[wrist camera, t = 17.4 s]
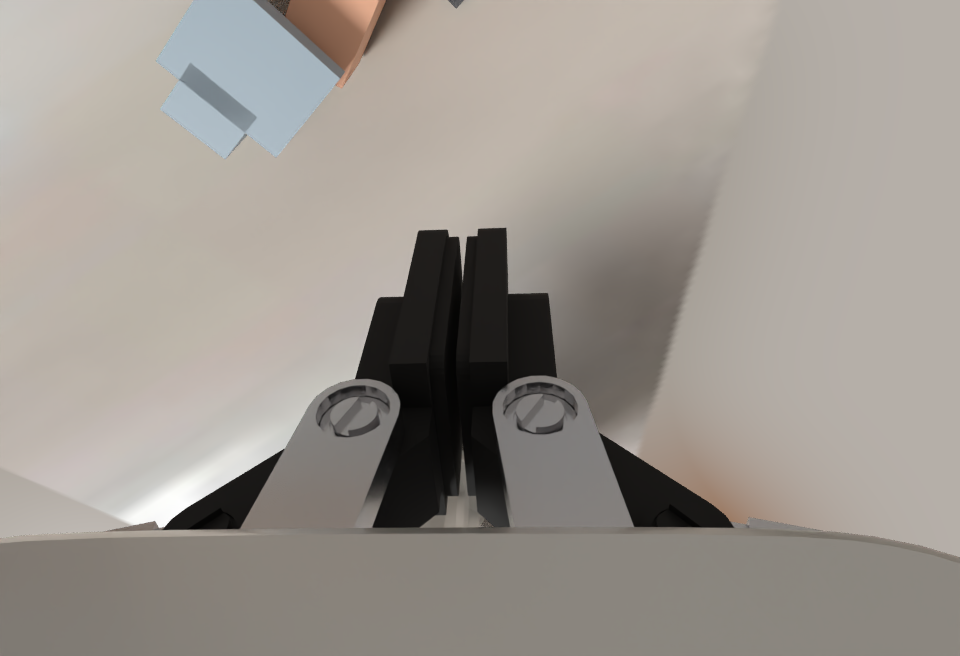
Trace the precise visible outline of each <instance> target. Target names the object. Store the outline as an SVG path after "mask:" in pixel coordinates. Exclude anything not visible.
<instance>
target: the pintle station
mask: <svg viewBox="0 0 960 656" xmlns="http://www.w3.org/2000/svg"><path fill="white" fill-rule="evenodd" d="M448 1H449V2H450V3H451V4H452V5H453V6H454V7H455V8H457V7H458V6H459V5H460V4H461V3H462V2H463V0H448Z"/></svg>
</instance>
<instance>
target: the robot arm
mask: <svg viewBox="0 0 960 656" xmlns="http://www.w3.org/2000/svg"><path fill="white" fill-rule="evenodd" d="M462 445H463V450H462ZM485 519H486V520H487V521H488V522H490V523H491V524H492V525H493V526H494V527H479V526H480V525H481V524H482V522H483V521H484V520H485ZM0 656H960V557H957V556H954V555H950V554H947V553H943V552H940V551H937V550H933V549H930V548H927V547H923V546H919V545H914V544H909V543H905V542H899V541H895V540H890V539H885V538H879V537H875V536H866V535H858V534H849V533H840V532H830V531H821V530H816V529H810V528H805V527H799V526H794V525H788V524H783V523H778V522H772V521H767V520H761V519H756V518H748V521H747V524H746V525H745V524H740V523H735V522H730V521H729V519H728V518H727V517H726V515H724V514H723V513H722V512H721V511H719V510H718V509H717V508H716V507H714V506H713V505H712V504H711V503H709V502H707V501H706V500H704V499H702V498H701V497H700V496H698V495H696V494H695V493H693V492H692V491H690V490H688V489H687V488H685V487H684V486H682V485H681V484H679V483H677V482H676V481H674V480H673V479H671V478H669V477H668V476H666V475H665V474H663V473H662V472H660V471H659V470H657V469H655V468H654V467H652V466H650V465H649V464H648V463H646V462H644V461H643V460H641V459H640V458H638V457H637V456H635V455H633V454H632V453H630V452H629V451H627V450H625V449H624V448H622V447H621V446H619V445H618V444H616V443H614V442H613V441H611V440H610V439H608V438H607V437H605V436H603V435H602V434H600V433H599V432H598V429H597V426H596V424H595V421H594V418H593V416H592V413H591V410H590V408H589V405H588V402H587V400H586V399H585V397H584V395H583V394H582V392H581V391H580V390H578V389H577V388H576V387H575V386H574V385H572V384H571V383H568V382H566V381H564V380H562V379H559V378H557V374H556V364H555V355H554V345H553V335H552V325H551V315H550V306H549V297H548V293H531V294H508V267H507V233H506V228H487V229H478V236H470V237H467V243H466V254H465V264H464V275H463V280H462V267H461V254H460V242H459V237H449V234H448V230H423V231H418V235H417V239H416V244H415V248H414V253H413V257H412V262H411V266H410V271H409V275H408V280H407V284H406V288H405V293H404V297H380V298H379V299H378V301H377V303H376V307H375V310H374V314H373V317H372V321H371V325H370V328H369V332H368V335H367V339H366V342H365V346H364V349H363V353H362V356H361V360H360V364H359V367H358V371H357V374H356V378H355V379H353V380H349V381H345V382H340V383H338V384H336V385H334V386H331V387H329V388H327V389H326V390H324V391H323V392H322V393H320V394H319V395H318V396H316V398H315V399H314V400H313V401H312V403H311V404H310V405H309V407H308V408H307V410H306V412H305V414H304V416H303V417H302V419H301V421H300V423H299V425H298V426H297V428H296V430H295V432H294V433H293V435H292V437H291V439H290V441H289V442H288V444H287V446H286V448H285V449H283V450H282V451H280V452H278V453H277V454H275V455H273V456H272V457H270V458H268V459H267V460H265V461H263V462H262V463H260V464H258V465H257V466H255V467H254V468H252V469H250V470H249V471H247V472H245V473H244V474H242V475H240V476H239V477H237V478H235V479H234V480H232V481H230V482H229V483H227V484H226V485H224V486H222V487H221V488H219V489H217V490H216V491H214V492H212V493H211V494H209V495H207V496H206V497H204V498H202V499H201V500H199V501H198V502H196V503H194V504H193V505H191V506H189V507H188V508H186V509H185V510H183V511H182V512H181V513H179V514H178V515H177V516H175V517H174V518H173V519H171V521H170V522H169V523H168V524H167V525H166V526H165V527H163V528H159V527H158V525H157V524H156V522H155V521H154V522H149V523H144V524H139V525H134V526H129V527H124V528H119V529H114V530H109V531H104V532H82V533H60V534H41V535H26V536H25V535H23V536H14V537H6V538H0Z"/></svg>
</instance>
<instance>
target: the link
mask: <svg viewBox="0 0 960 656" xmlns="http://www.w3.org/2000/svg"><path fill="white" fill-rule="evenodd" d="M385 2H386V0H290V3H289V6H288V9H287V12H286V15H285V17H286V18H287V19H288V20H289V21H290V22H291V23H292V24H293V25H295V26H296V27H297V28H298V29H299V30H300V31H301V32H302V33H303V34H304V35H306V36H307V37H308V38H309V39H310V40H311V41H312V42H313V43H314V44H315V45H317V46H318V47H319V48H320V49H321V50H322V51H323V52H324V53H325V54H326V55H328V56H329V57H330V58H331V59H332V60H333V61H334V62H335V63H336V64H337V65H338V66H340V67H341V68H342V69H343V70H344V71H345V73H344V74H343V75H342V77H341V78H340V80H339V81H338V82H337V83H336V84H335V85H336V86H338V87H340V88H342V87H343V86H344V85H345V83H346V82H347V80H348V79H349V77H350V76H351V74H352V73H353V71H354V70H355V68H356V67H357V66H358V64H359V62H360V60H361V58H362V55H363V53H364V51H365V48H366V46H367V44H368V41H369V39H370V37H371V34H372V32H373V30H374V27H375V25H376V23H377V20H378V18H379V16H380V13H381V11H382V9H383V6H384V4H385Z"/></svg>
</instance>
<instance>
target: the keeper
mask: <svg viewBox="0 0 960 656" xmlns="http://www.w3.org/2000/svg"><path fill="white" fill-rule="evenodd" d="M156 62H157V63H159V64H160V65H161V66H162V67H164V68H165V69H166V70H167V71H169V72H170V73H171V74H172V75H174V76H175V77H176V78H177V79H179V81H178V83H177V84H176V86H175V87H174V89H173V90H172V92H171V93H170V95H169V96H168V98H167V99H166V101H165V102H164V104H163V105H162V107H161V108H160V110H162V111H163V112H164V113H166V114H167V115H168V116H169V117H171V118H172V119H173V120H175V121H176V122H177V123H179V124H180V125H181V126H182V127H184V128H185V129H186V130H188V131H189V132H190V133H191V134H193V135H194V136H195V137H197V138H198V139H199V140H201V141H202V142H203V143H204V144H206V145H207V146H208V147H210V148H211V149H212V150H214V151H215V152H216V153H217V154H219V155H220V156H221V157H223V158H224V159H226V158H227V157H228V156H229V155H230V154H231V153H232V151H233V150H234V149H235V148H236V147H237V146H238V145H239V144H240V143H241V142H242V140H243V139H244V138H245V137H246V136H247V135H248V136H250V137H251V138H252V139H253V140H255V141H256V142H257V143H258V144H260V145H261V146H262V147H263V148H265V149H266V150H267V151H268V152H270V153H271V154H272V155H273V156H275V157H277V156H278V155H279V154H280V152H281V151H282V150H283V149H284V147H285V146H286V145H287V144H288V142H289V141H290V140H291V139H292V138H293V136H294V135H295V134H296V133H297V131H298V130H299V129H300V128H301V126H302V125H303V124H304V123H305V122H306V120H307V119H308V118H309V117H310V115H311V114H312V113H313V112H314V110H315V109H316V108H317V107H318V105H319V104H320V103H321V102H322V101H323V99H324V98H325V97H326V96H327V94H328V93H329V92H330V91H331V89H332V88H333V87H334V86H335V84H336V83H337V82H338V81H339V80H340V78H341V77H342V75H343V74H344V73H345V71H344V70H343V69H342V68H341V67H340V66H338V65H337V64H336V63H335V62H334V61H333V60H332V59H331V58H330V57H329V56H328V55H326V54H325V53H324V52H323V51H322V50H321V49H320V48H319V47H318V46H317V45H315V44H314V43H313V42H312V41H311V40H310V39H309V38H308V37H307V36H306V35H304V34H303V33H302V32H301V31H300V30H299V29H298V28H297V27H296V26H295V25H293V24H292V23H291V22H290V21H289V20H288V19H287V18H286V17H285V16H284V15H283V14H281V13H280V12H279V11H278V10H277V9H276V8H275V7H274V6H273V5H272V4H270V3H269V2H268V1H267V0H194V1H193V2H192V4H191V5H190V7H189V9H188V10H187V12H186V13H185V15H184V17H183V18H182V20H181V21H180V23H179V25H178V26H177V28H176V29H175V31H174V33H173V34H172V36H171V37H170V39H169V41H168V42H167V44H166V45H165V47H164V49H163V50H162V52H161V53H160V55H159V57H158V58H157V60H156Z"/></svg>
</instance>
